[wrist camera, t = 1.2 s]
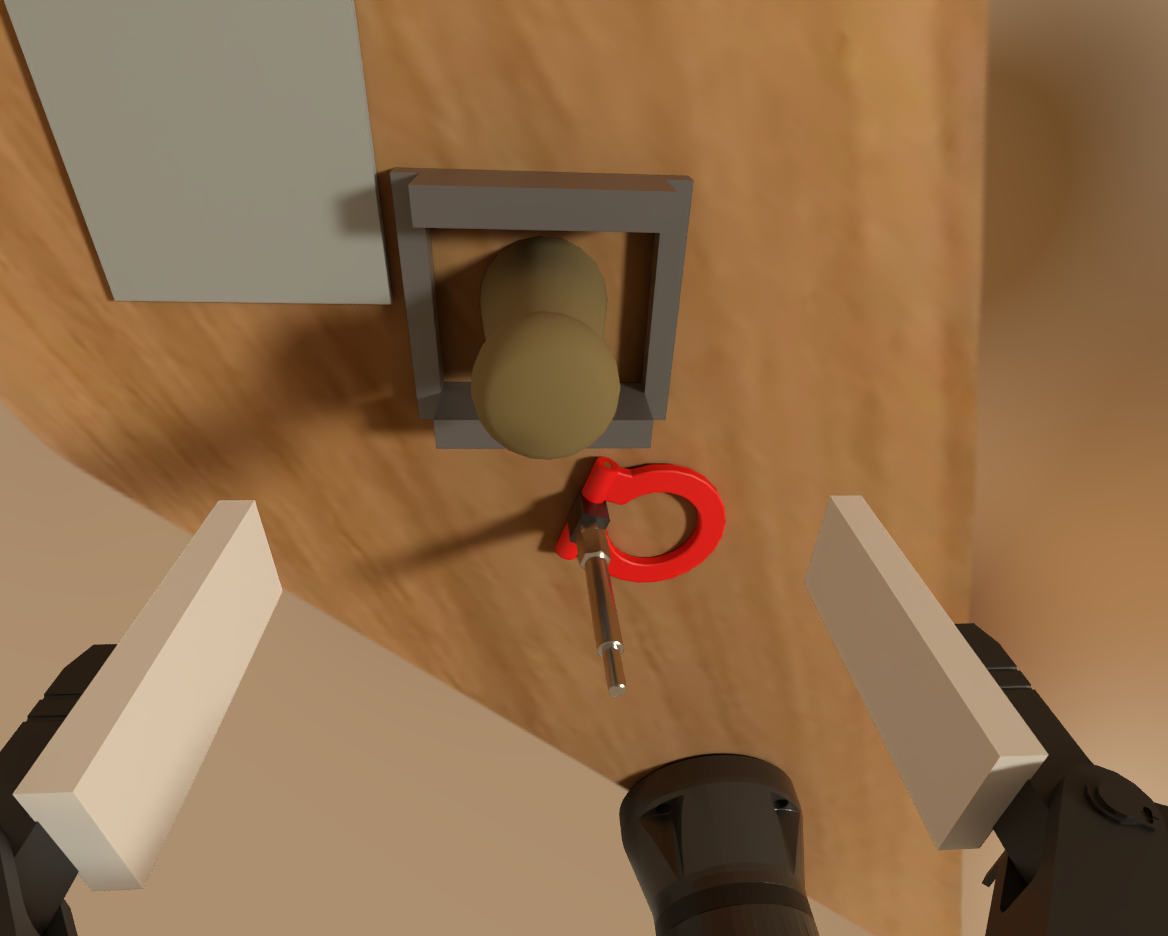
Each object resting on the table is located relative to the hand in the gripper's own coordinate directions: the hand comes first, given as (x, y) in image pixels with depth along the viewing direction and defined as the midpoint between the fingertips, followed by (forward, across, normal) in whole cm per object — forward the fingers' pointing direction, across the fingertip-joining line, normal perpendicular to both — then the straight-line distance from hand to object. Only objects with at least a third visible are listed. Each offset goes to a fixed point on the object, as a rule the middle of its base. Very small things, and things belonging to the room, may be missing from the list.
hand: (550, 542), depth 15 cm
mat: (+18, +13, -6) cm, 23 cm away
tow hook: (+18, -6, +13) cm, 23 cm away
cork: (+18, 0, 0) cm, 18 cm away
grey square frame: (+18, 0, 0) cm, 18 cm away
